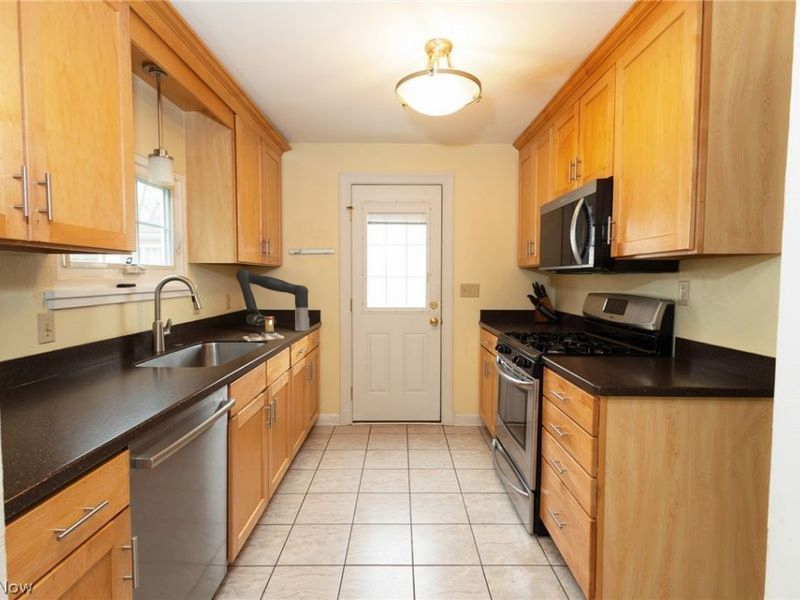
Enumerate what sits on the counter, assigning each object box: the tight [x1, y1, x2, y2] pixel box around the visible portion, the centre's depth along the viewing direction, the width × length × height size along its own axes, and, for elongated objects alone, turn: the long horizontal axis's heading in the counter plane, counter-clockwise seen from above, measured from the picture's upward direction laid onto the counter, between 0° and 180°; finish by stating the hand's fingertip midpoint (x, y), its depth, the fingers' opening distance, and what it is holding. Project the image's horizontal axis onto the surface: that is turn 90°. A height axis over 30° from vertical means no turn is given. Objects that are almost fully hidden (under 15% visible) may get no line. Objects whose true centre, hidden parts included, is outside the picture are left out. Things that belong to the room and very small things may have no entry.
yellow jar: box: [264, 316, 275, 334], centre depth 256 cm, size 6×6×12 cm
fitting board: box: [242, 331, 285, 342], centre depth 254 cm, size 22×13×3 cm, turn 124°
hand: (267, 322), depth 260 cm, fingers open, 8 cm apart
